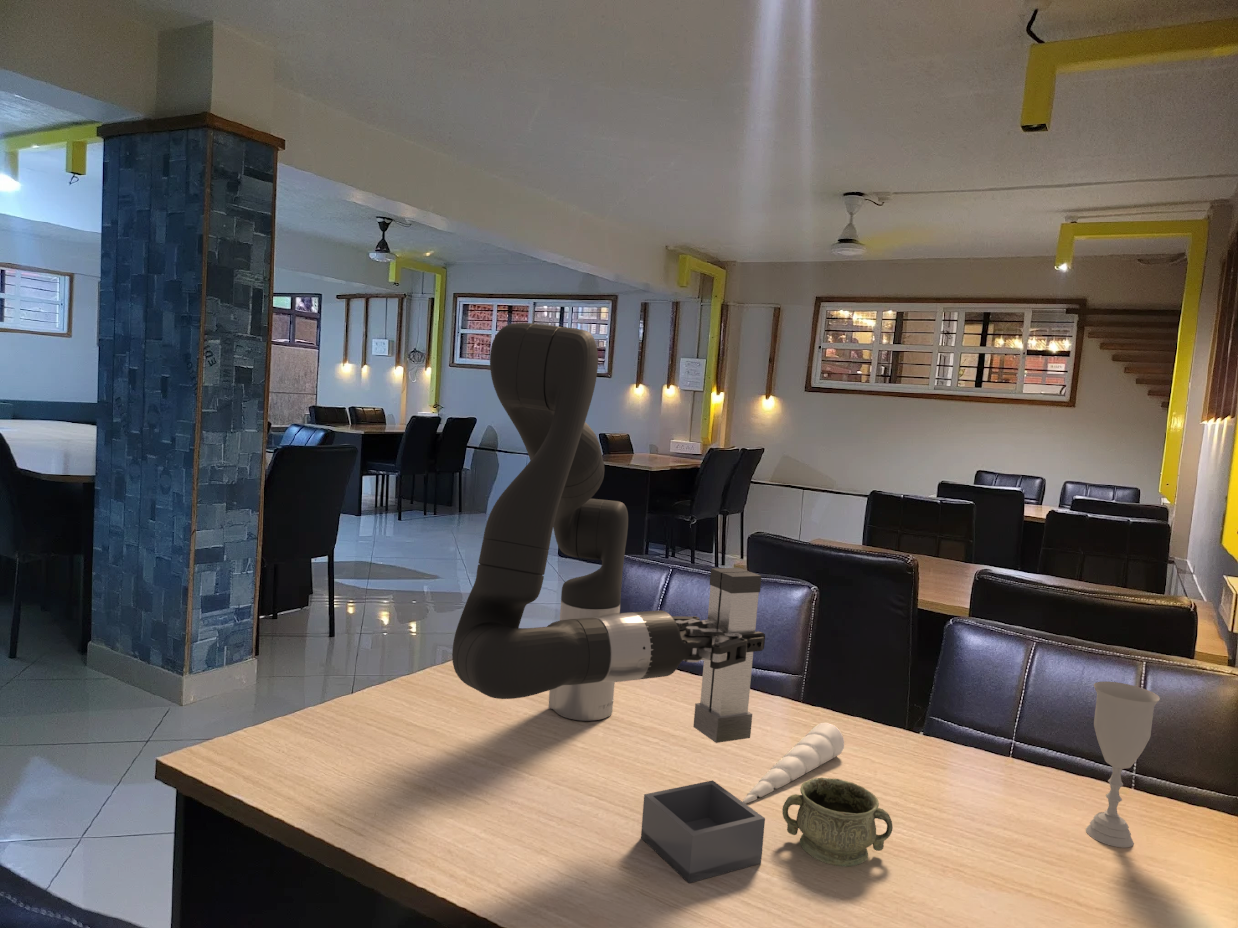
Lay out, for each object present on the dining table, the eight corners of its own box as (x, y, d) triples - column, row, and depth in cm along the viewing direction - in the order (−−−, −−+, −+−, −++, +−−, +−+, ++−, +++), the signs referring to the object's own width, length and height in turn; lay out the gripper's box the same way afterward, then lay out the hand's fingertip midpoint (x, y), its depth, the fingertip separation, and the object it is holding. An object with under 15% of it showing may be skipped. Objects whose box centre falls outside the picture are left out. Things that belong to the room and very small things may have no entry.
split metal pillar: (716, 742, 97) (731, 577, 95) (693, 726, 101) (707, 568, 100) (750, 737, 99) (765, 576, 98) (726, 722, 104) (740, 567, 102)
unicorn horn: (717, 795, 103) (721, 758, 102) (815, 748, 120) (818, 716, 120) (748, 810, 100) (752, 772, 99) (844, 760, 117) (847, 727, 116)
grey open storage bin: (688, 883, 83) (692, 835, 82) (640, 837, 91) (644, 794, 90) (761, 863, 87) (765, 818, 87) (709, 821, 95) (712, 780, 95)
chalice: (1142, 858, 94) (1161, 706, 93) (1075, 838, 98) (1092, 692, 96) (1142, 833, 100) (1158, 690, 99) (1078, 815, 104) (1094, 677, 103)
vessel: (779, 859, 89) (784, 803, 88) (780, 820, 97) (784, 769, 97) (894, 879, 86) (900, 822, 86) (885, 837, 95) (890, 785, 94)
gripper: (668, 630, 86) (791, 620, 94) (603, 598, 98) (717, 591, 107) (662, 700, 86) (785, 683, 95) (598, 659, 99) (712, 647, 107)
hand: (749, 634), depth 101 cm, fingers closed on split metal pillar, 4 cm apart
